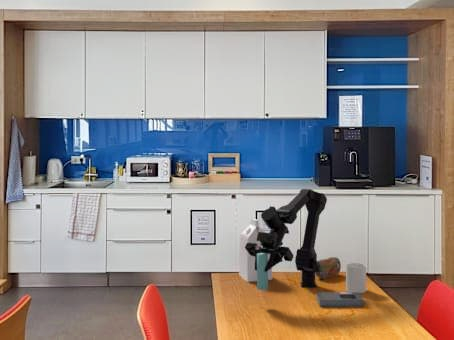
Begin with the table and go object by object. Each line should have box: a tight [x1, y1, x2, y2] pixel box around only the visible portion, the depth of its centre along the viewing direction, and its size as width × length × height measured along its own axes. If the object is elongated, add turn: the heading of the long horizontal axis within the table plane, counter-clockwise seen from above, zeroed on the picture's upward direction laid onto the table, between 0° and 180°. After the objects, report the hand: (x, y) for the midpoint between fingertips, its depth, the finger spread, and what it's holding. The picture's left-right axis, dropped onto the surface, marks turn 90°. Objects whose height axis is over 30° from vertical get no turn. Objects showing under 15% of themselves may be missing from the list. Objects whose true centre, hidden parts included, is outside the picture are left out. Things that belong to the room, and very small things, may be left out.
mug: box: [345, 262, 367, 294], centre depth 237 cm, size 12×8×10 cm, turn 1°
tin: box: [315, 256, 342, 280], centre depth 258 cm, size 15×3×8 cm, turn 131°
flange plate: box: [316, 291, 365, 308], centre depth 220 cm, size 10×16×3 cm, turn 88°
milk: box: [238, 218, 273, 283], centre depth 259 cm, size 12×12×26 cm
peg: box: [256, 253, 269, 291], centre depth 217 cm, size 4×4×13 cm
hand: (260, 270), depth 216 cm, fingers closed on peg, 4 cm apart
